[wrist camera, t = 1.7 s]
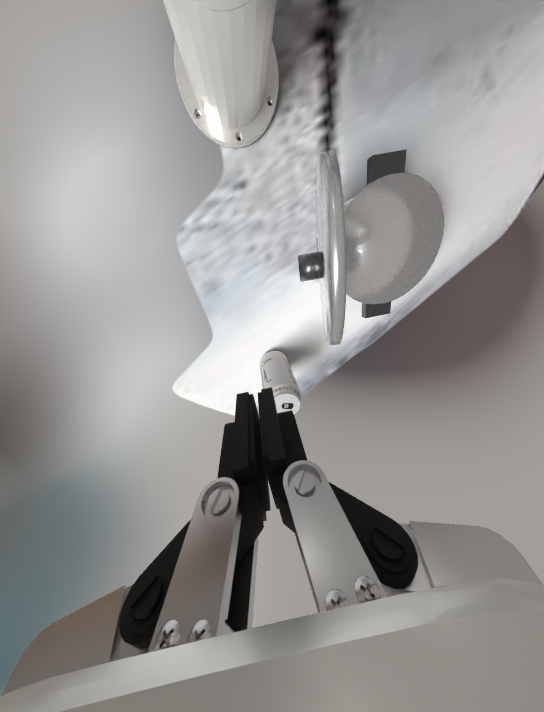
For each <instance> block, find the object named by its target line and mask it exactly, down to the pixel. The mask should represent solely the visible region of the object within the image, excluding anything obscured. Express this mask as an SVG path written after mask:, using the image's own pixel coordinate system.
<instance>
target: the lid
mask: <svg viewBox="0 0 544 712" xmlns="http://www.w3.org/2000/svg"><path fill="white" fill-rule="evenodd" d="M316 214H317V242H318V252H316V253H310V254H304V255H299V256H298V260H299V272H300V280H301V281H308V280H314V279H320V291H321V303H322V313H323V322H324V329H325V336H326V340H327V344H328V345H337V344H340V342H341V339H342V335H343V328H344V319H345V304H346V239H345V219H344V205H343V194H342V184H341V177H340V170H339V165H338V160H337V156H336V153H335V151H334V150H330V151H326V152H322V153H319V154H318V158H317V171H316Z"/></svg>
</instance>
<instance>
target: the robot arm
mask: <svg viewBox="0 0 544 712" xmlns="http://www.w3.org/2000/svg"><path fill="white" fill-rule="evenodd" d="M163 2H164V5H165V8H166V11H167V14H168V17H169V20H170V23H171V26H172V29H173V32H174V35H175V48H174V62H175V73H176V78H177V84H178V87H179V90H180V93H181V96H182V99H183V102H184V104H185V106H186V109H187V111H188V112H189V114H190V116H191V118H192V119H193V121H194V123H195V124H196V125H197V126H198V128H199V129H200V130H201V131H202V132H203V133H204V134H205V135H206V136H207V137H208V138H209V139H211V140H212V141H214V142H215V143H217V144H219V145H222V146H224V147H230V148H240V147H245V146H247V145H250V144H252V143H253V142H254V141H256V140H257V139H258V138H259V137H260V136H261V135H262V134H263V133H264V132H265V130H266V129H267V127H268V125H269V124H270V121H271V119H272V116H273V114H274V111H275V106H276V102H277V96H278V89H279V71H278V61H277V56H276V52H275V47H274V44H273V41H272V32H273V24H274V15H275V6H276V0H163ZM269 103H270V104H271V106H269V105H268V104H269ZM198 115H199V116H200V118H199V119H198V118H197V116H198ZM238 138H240V139H241V141H238V140H237V139H238ZM261 391H262V392H260V393H258V403H259V415H258V412H257V408H256V404H255V400H254V396H253V394H250V395H249V393H248V392H246V393H241V394H237V400H236V413H235V422H233V423H228V424H225V427H224V434H223V441H222V449H221V457H220V464H219V471H218V478H217V479H215V480H213V481H211V482H210V483H209V484H208V485H207V486H206V487H205V488H204V489H203V490H202V492H201V493H200V496H199V498H198V500H197V503H196V506H195V509H194V512H193V515H192V518H191V520H190V521H189V522H188V523H187V524H186V525H185V526H184V528H183V529H182V530H181V531H180V532H179V533H178V534H177V535H176V536H175V538H174V539H173V540H172V541H171V542H170V543H169V544H168V545H167V546H166V548H165V549H164V550H163V551H162V552H161V553H160V554H159V555H158V557H156V559H155V560H154V561H153V562H152V563H151V564H150V565H149V566H148V568H147V569H146V570H145V571H144V572H143V573H142V574H141V575H140V576H139V578H138V579H137V580H136V582H135V583H134V584H133V585H131V586H129V587H127V586H125V585H124V586H122V587H120V588H118V589H116V590H115V591H113V592H111V593H109V594H107V595H105V596H103V597H101V598H99V599H97V600H96V601H94V602H92V603H90V604H88V605H86V606H84V607H83V608H80V609H78V610H76V611H75V612H73V613H71V614H69V615H67V616H65V617H63V618H61V619H59V620H58V621H56V622H54V623H52V624H51V625H49V626H48V627H47V628H45V629H44V630H43V631H42V632H41V633H40V634H39V635H38V636H37V637H36V638H35V639H34V640H33V641H32V642H31V643H30V644H29V646H28V647H27V649H26V650H25V651H24V653H23V654H22V656H21V657H20V658H19V660H18V662H17V663H16V665H15V667H14V669H13V671H12V673H11V675H10V676H9V679H8V681H7V683H6V686H5V688H4V690H3V692H2V695H1V697H0V712H544V585H543V584H542V582H541V581H540V580H539V578H538V577H537V575H536V574H535V573H534V571H533V570H532V568H531V567H530V566H529V564H528V563H527V561H526V560H525V558H524V557H523V556H522V555H521V553H520V552H519V551H518V550H517V549H516V548H515V547H514V545H512V544H511V543H510V542H509V541H507V540H506V539H505V538H503V537H502V536H501V535H499V534H497V533H495V532H494V531H492V530H490V529H487V528H483V527H478V526H468V525H454V524H441V523H427V522H414V521H410V523H409V524H402V523H397V522H395V521H394V520H392V519H391V518H389V517H388V516H386V515H384V514H382V513H381V512H379V511H377V510H375V509H374V508H372V507H371V506H369V505H367V504H365V503H364V502H362V501H360V500H359V499H357V498H355V497H353V496H352V495H350V494H348V493H347V492H345V491H343V490H342V489H340V488H338V487H336V486H335V485H333V484H331V483H330V482H328V480H327V478H326V477H325V475H324V473H323V471H322V470H321V468H320V467H319V466H318V465H316V464H315V463H313V462H310V461H307V458H306V455H305V452H304V448H303V444H302V441H301V437H300V434H299V431H298V427H297V424H296V420H295V417H294V414H293V411H292V410H290V411H286V412H281V413H277V409H276V405H275V400H274V395H273V390H272V387H270V388H265V389H261ZM259 416H260V419H259ZM268 481H269V484H270V488H271V491H272V495H273V498H274V501H275V505H276V508H277V509H279V510H280V514H281V517H282V521H283V523H284V524H285V525H286V526H287V527H288V528H289V529H291V530H292V531H293V532H294V533H295V536H296V539H297V543H298V546H299V550H300V553H301V557H302V560H303V563H304V567H305V570H306V574H307V577H308V580H309V584H310V587H311V591H312V594H313V598H314V601H315V604H316V607H317V611H318V613H316V614H312V615H308V616H303V617H299V618H294V619H290V620H286V621H281V622H277V623H273V624H269V625H265V626H260V627H256V628H252V620H253V605H254V592H255V578H256V577H255V576H256V563H257V550H258V535H259V534H260V532H261V531H262V529H263V527H264V526H263V521H266V511H269V510H270V499H269V488H268Z"/></svg>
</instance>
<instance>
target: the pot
mask: <svg viewBox="0 0 544 712" xmlns="http://www.w3.org/2000/svg"><path fill="white" fill-rule="evenodd" d="M405 159H406V150H401V151H395V152H390V153H384V154H379V155H373V156H371V157H370V158H369V159H368V161H367V186H366V187H365V188H364V189H362V190H361V191H360V192H359V193H358V194H357V195H356V196H354V197H352V198H350V199H349V200H347V201H345V202H344V203H343V205H344V219H345V239H346V294H347V295H348V296H350V297H351V298H353V299H355V300H357V301H359V302H362V317H364V318H369V317H374V316H379V315H384V314H389V313H390V308H391V301H392V300H395V299H397V298H399V297H401V296H403V295H404V294H406V293H407V292H408V291H410V290H411V289H412V288H413V287H414V286H415V285H416V284H417V283H418V282H419V281H420V280H421V279H422V278H423V277H424V276H425V274H426V273H427V271H428V270H429V268H430V267H431V265H432V263H433V262H434V260H435V257H436V255H437V253H438V250H439V247H440V244H441V240H442V235H443V228H444V217H443V209H442V205H441V202H440V199H439V197H438V195H437V193H436V191H435V190H434V188H433V187H432V186H431V185H430V184H429V183H428V182H427V181H426V180H424V179H423V178H421V177H419V176H417V175H413V174H410V173H404V169H405ZM368 184H369V185H368ZM316 239H317V238H316ZM317 252H318V242H317Z"/></svg>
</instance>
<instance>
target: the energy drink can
mask: <svg viewBox="0 0 544 712" xmlns="http://www.w3.org/2000/svg"><path fill="white" fill-rule="evenodd" d="M260 369H261V378H262V386H263V389H265V388H270V387H272V390H273V395H274V400H275V405H276V409H277V413H281V412H286V411H290V410H292V411H293V414H295V413H296V412H297V411H298V410H299V407H300V401H301V393H300V390H299V388H298V385H297V383H296V380H295V378H294V375H293V373H292V370H291V367H290V365H289V362H288V360H287V357H286V356H285V355H284V354H283V353H282V352H280V351H270V352H267V353H266V354H264V355H263V357H262V358H261V360H260Z"/></svg>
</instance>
